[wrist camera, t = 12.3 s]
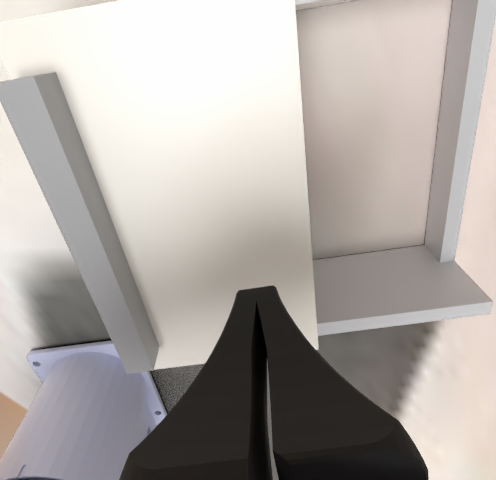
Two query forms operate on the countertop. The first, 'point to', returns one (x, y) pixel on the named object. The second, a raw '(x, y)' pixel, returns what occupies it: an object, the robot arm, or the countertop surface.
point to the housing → (439, 212)
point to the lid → (169, 161)
